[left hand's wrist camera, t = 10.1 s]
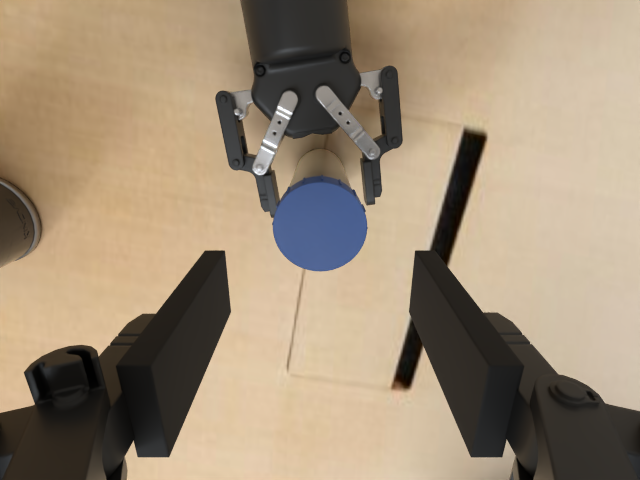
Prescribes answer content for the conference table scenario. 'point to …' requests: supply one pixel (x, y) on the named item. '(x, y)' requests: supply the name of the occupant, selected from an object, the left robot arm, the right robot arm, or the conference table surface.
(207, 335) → the left robot arm
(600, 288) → the conference table surface
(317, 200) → the lid
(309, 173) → the jar
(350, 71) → the right robot arm
